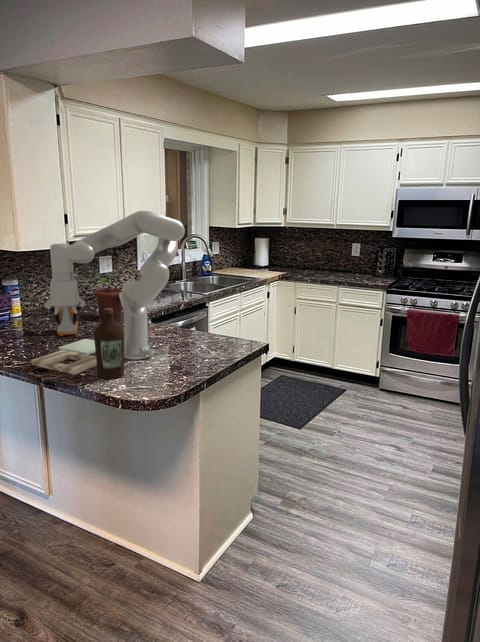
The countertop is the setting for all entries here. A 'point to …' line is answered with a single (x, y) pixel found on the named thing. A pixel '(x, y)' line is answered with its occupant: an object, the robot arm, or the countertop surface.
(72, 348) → the sage tile
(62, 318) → the flask
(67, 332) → the coffee package
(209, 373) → the countertop surface
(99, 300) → the potted plant
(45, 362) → the tan flat rectangular frame
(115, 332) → the olive oil
